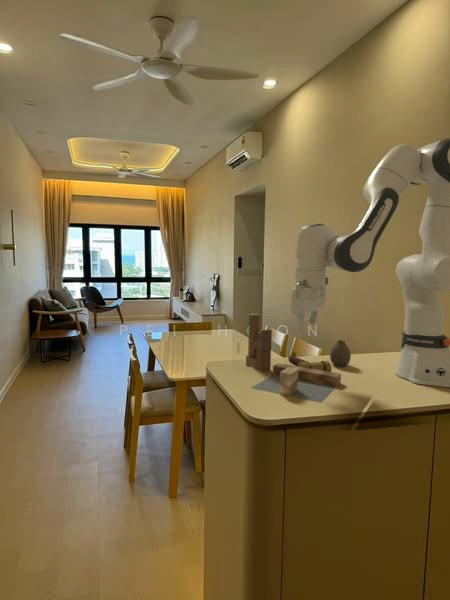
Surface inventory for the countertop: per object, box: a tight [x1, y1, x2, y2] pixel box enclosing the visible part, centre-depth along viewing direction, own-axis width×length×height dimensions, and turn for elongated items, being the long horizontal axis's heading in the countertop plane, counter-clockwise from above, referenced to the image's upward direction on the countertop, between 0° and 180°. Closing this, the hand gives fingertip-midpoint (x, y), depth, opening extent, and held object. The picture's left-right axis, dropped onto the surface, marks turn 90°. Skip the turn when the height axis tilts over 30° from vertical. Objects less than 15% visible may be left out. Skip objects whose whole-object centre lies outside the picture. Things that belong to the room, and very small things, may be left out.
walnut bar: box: [272, 362, 342, 388], centre depth 120 cm, size 20×4×4 cm, turn 58°
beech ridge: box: [279, 367, 298, 397], centre depth 108 cm, size 3×6×6 cm, turn 149°
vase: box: [329, 339, 352, 368], centre depth 138 cm, size 7×7×9 cm
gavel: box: [287, 355, 332, 372], centre depth 135 cm, size 21×5×10 cm
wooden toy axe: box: [245, 313, 273, 372], centre depth 131 cm, size 4×11×18 cm, turn 25°
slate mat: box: [251, 374, 337, 404], centre depth 112 cm, size 20×14×1 cm
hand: (307, 326), depth 118 cm, fingers open, 8 cm apart
